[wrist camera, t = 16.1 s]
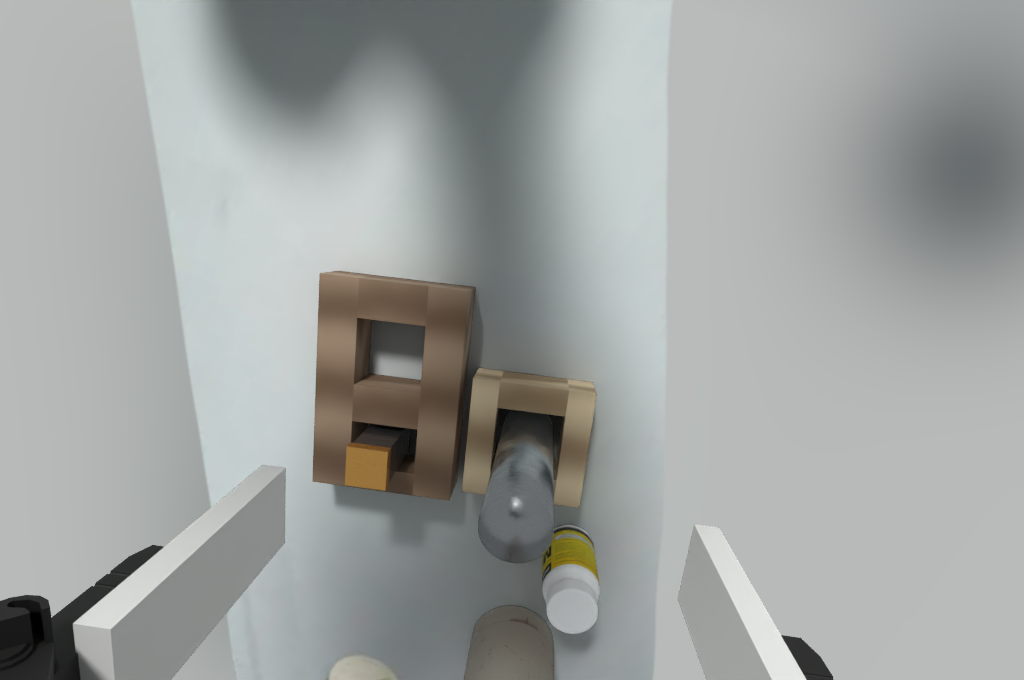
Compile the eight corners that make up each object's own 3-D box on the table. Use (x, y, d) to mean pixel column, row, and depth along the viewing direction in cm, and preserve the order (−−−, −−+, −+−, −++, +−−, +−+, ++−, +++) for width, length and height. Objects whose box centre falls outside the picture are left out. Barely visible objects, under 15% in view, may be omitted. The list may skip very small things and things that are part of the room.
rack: (478, 367, 44) (473, 378, 40) (592, 382, 43) (596, 394, 40) (468, 472, 46) (461, 491, 42) (576, 487, 45) (579, 507, 42)
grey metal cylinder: (506, 402, 44) (481, 488, 28) (555, 408, 44) (558, 499, 28) (501, 448, 45) (474, 557, 29) (549, 454, 45) (548, 568, 29)
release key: (376, 416, 44) (346, 446, 38) (411, 420, 44) (387, 452, 38) (374, 449, 45) (344, 485, 38) (409, 454, 45) (385, 490, 38)
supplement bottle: (541, 523, 46) (540, 583, 38) (593, 522, 46) (603, 584, 38) (543, 569, 47) (542, 638, 39) (594, 569, 47) (603, 639, 38)
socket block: (337, 270, 43) (319, 273, 39) (475, 287, 42) (468, 291, 39) (329, 463, 46) (312, 481, 43) (456, 481, 46) (449, 500, 42)
